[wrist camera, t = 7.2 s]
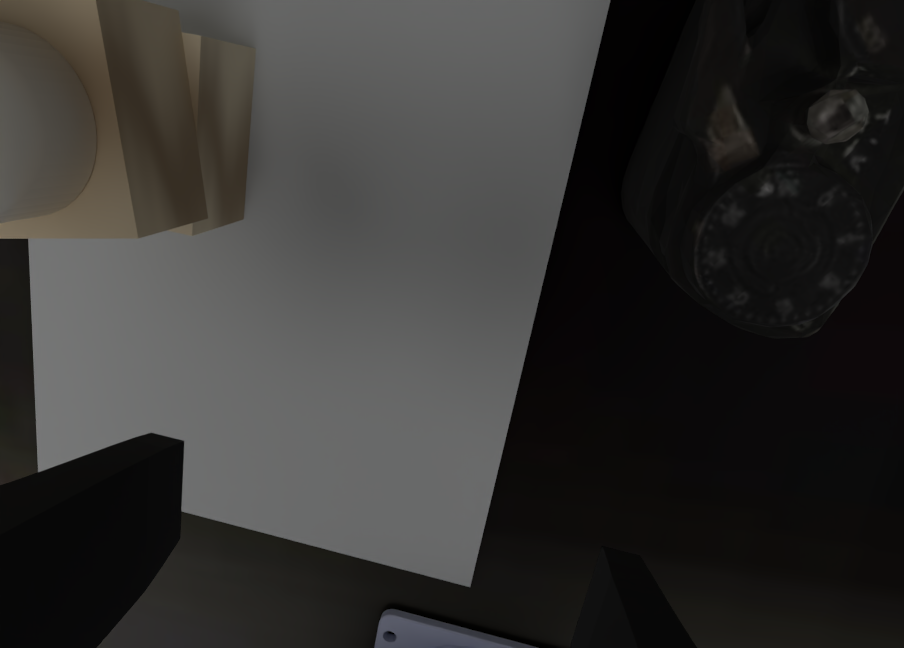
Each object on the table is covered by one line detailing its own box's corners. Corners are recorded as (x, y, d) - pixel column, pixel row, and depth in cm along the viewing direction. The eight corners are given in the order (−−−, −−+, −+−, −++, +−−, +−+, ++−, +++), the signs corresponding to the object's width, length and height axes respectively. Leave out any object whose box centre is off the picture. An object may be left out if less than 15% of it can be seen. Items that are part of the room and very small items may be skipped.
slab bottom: (243, 219, 20) (192, 235, 17) (96, 187, 20) (22, 198, 17) (256, 48, 18) (201, 35, 15) (95, 18, 19) (13, 0, 16)
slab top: (207, 218, 17) (138, 238, 14) (41, 219, 18) (-58, 238, 15) (178, 10, 15) (93, -14, 12) (-3, 21, 16) (-123, 1, 13)
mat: (471, 579, 23) (470, 587, 23) (46, 468, 25) (38, 473, 24) (616, -28, 17) (617, -31, 16) (23, -129, 18) (12, -134, 18)
